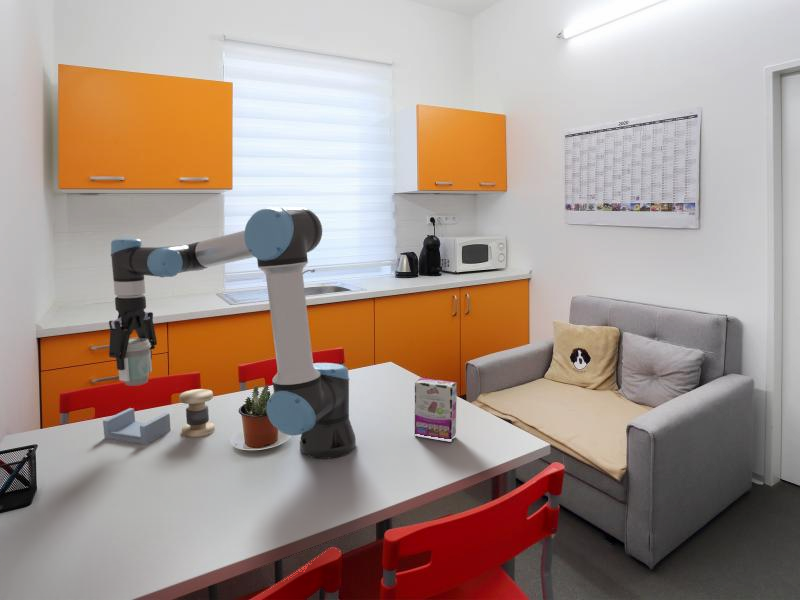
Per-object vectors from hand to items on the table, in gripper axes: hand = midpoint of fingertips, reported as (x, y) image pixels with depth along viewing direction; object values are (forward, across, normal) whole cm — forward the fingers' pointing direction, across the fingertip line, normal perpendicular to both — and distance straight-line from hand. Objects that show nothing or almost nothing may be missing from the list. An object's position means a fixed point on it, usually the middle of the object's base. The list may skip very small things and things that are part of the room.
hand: (136, 375), depth 152 cm
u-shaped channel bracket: (+18, 0, -1) cm, 18 cm away
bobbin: (+18, -7, +14) cm, 23 cm away
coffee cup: (+2, 0, 0) cm, 2 cm away
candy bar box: (+17, -24, +80) cm, 86 cm away
